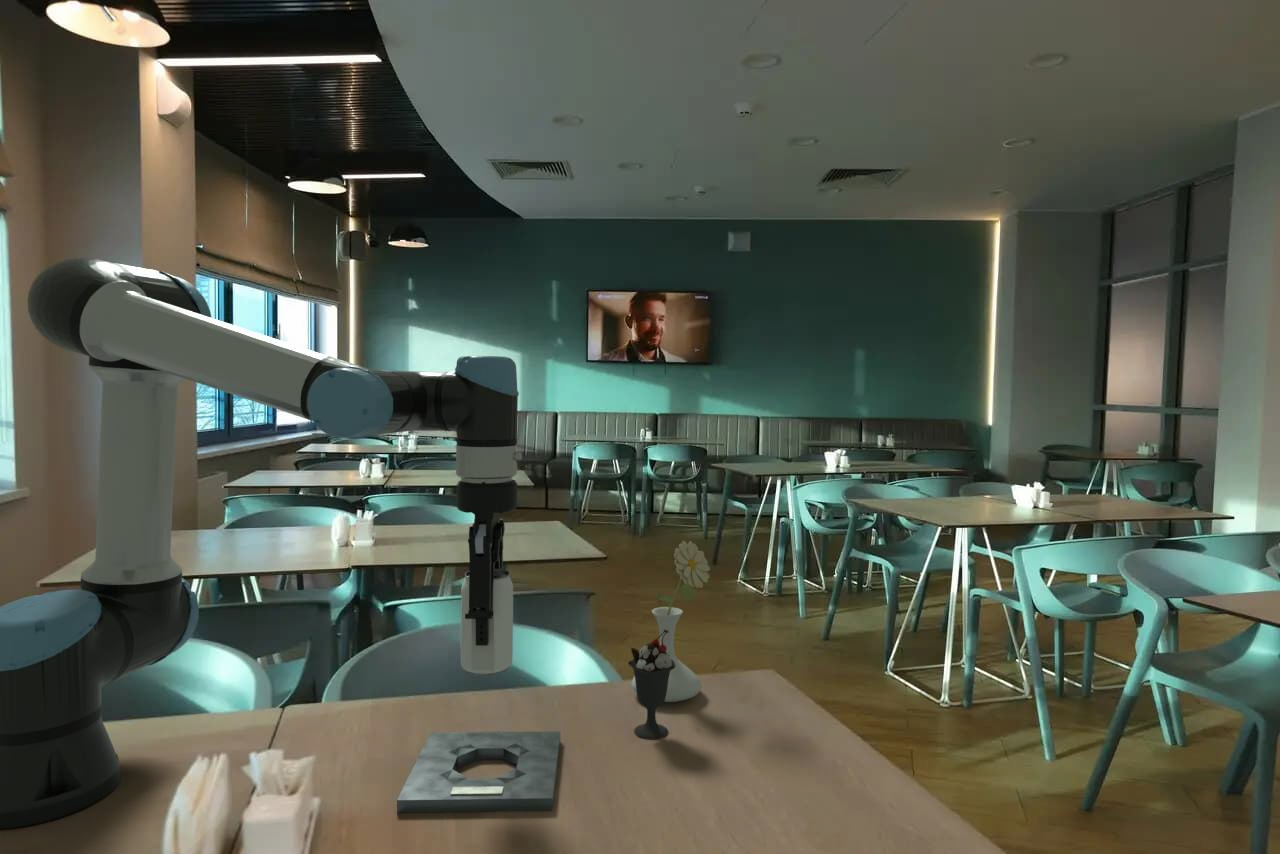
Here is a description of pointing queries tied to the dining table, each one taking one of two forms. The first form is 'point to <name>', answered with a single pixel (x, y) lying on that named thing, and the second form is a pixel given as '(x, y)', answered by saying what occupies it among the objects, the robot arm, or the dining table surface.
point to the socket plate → (513, 791)
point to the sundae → (651, 684)
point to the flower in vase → (693, 573)
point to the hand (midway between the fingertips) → (487, 659)
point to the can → (501, 624)
